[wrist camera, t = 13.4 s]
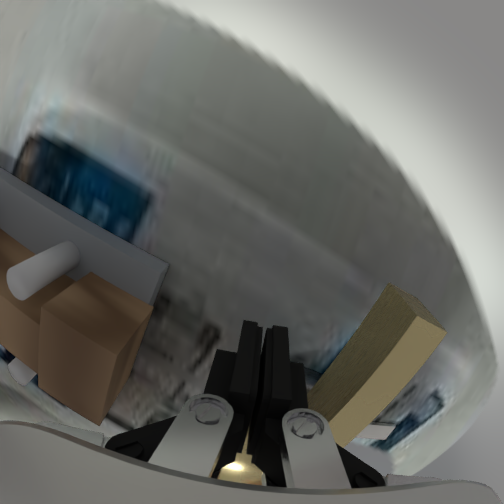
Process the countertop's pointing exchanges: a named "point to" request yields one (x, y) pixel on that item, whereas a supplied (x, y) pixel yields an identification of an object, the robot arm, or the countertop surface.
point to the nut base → (370, 432)
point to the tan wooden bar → (72, 334)
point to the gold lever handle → (364, 372)
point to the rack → (67, 251)
